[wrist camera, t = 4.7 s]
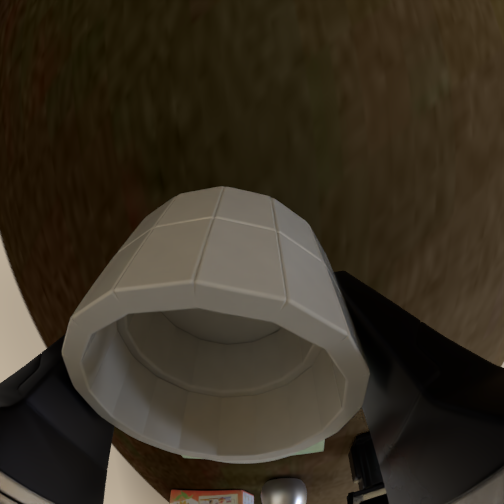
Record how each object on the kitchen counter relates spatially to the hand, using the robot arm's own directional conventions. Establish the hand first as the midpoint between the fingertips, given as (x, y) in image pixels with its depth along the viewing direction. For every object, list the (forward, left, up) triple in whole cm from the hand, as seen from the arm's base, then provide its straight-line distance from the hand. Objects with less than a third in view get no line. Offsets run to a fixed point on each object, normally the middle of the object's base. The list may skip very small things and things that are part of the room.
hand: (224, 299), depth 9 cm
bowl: (0, 0, -1) cm, 1 cm away
